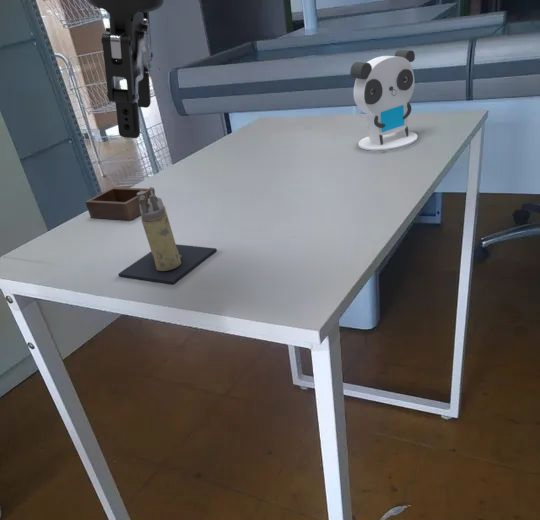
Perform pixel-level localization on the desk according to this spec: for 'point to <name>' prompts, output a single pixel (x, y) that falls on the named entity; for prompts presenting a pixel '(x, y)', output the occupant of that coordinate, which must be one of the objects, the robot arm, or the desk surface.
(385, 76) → the panda figurine
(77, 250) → the desk surface
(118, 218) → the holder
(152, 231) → the lighter
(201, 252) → the mat
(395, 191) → the desk surface
